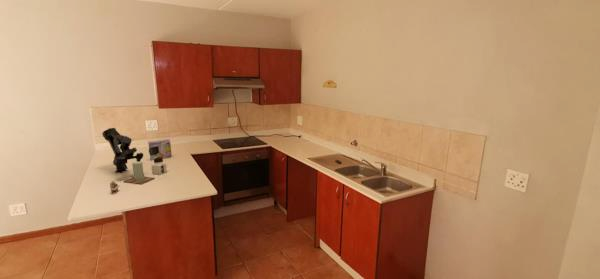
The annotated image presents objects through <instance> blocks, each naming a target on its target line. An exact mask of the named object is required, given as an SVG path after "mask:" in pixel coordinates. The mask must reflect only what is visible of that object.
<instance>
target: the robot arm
mask: <svg viewBox="0 0 600 279" xmlns="http://www.w3.org/2000/svg"><path fill="white" fill-rule="evenodd" d="M101 134H102V137H103V138H104V140H106V141H107V142H108V143H109V145H110V148H111V150H112V151H113V153H114V157H113V161H112V164H113V165H114V166H115V169H116V170H115V171H114V172H115V173H121V174H122V173H124V172H127V171H128V166H127V164H128V160H134V159H135V160H136V162H139V161H140V162H141V160H143V157H144V153H143V152H138V153H136V152H137V151H138V149H137V148H136V147H132V148H130V146H131V143H132V142H133V141H132V138H130V137H129V136H127V135H123V134H122V135H121V134H120V132H119V131H117V128H116V127H110V128H107V129H106V130H104V131H103V132H102V133H101ZM135 153H136V154H135Z"/></svg>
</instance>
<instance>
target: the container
mask: <svg viewBox="0 0 600 279" xmlns="http://www.w3.org/2000/svg"><path fill="white" fill-rule="evenodd" d="M150 165H151V173H152V175H158V176H159V175H163V174H166V173H168V170H167V163H166V162H164V158H162V157H155V158H154V160H153V163H152V164H150Z"/></svg>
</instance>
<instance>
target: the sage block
mask: <svg viewBox="0 0 600 279" xmlns="http://www.w3.org/2000/svg"><path fill="white" fill-rule="evenodd" d="M132 170H133V177H134V180H136V181H140V180H144V177H145V174H144V173H145V172H144V167H143V162H141V160H140V161H139V162H137V161H135V162H132Z"/></svg>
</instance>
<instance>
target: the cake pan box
mask: <svg viewBox="0 0 600 279" xmlns="http://www.w3.org/2000/svg"><path fill="white" fill-rule="evenodd" d="M147 144H148V153H149V158H150V161H154V158H155V157H162V158H163V159H167V158H172V157H173V155H172V154H173V153H172V145H171V144H172V143H171V139H170V138H163V139H157V140H150V141H148V143H147Z"/></svg>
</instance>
